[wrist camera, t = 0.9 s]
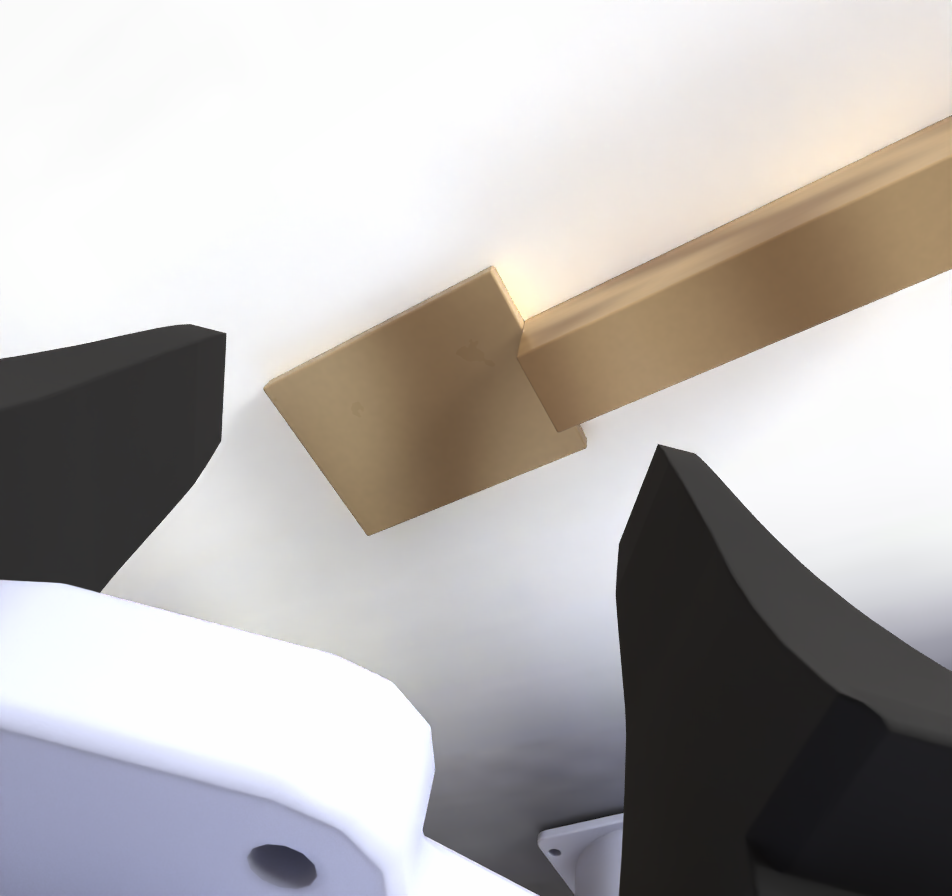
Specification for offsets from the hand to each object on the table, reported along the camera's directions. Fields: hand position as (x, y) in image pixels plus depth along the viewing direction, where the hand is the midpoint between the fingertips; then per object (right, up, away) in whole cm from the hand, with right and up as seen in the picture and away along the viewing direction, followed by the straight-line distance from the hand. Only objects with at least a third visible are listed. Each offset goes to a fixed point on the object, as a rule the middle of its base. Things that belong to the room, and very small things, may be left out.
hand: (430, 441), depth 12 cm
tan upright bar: (+4, +3, +9) cm, 10 cm away
